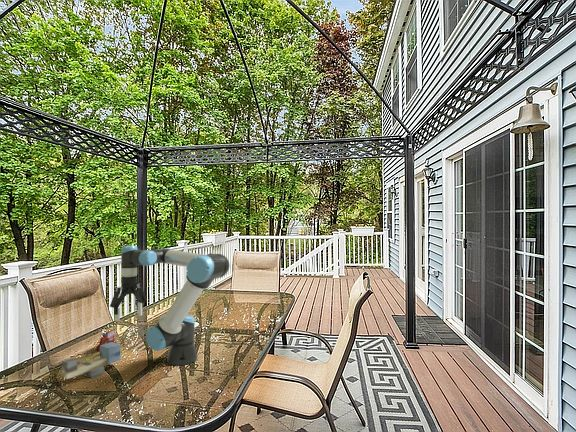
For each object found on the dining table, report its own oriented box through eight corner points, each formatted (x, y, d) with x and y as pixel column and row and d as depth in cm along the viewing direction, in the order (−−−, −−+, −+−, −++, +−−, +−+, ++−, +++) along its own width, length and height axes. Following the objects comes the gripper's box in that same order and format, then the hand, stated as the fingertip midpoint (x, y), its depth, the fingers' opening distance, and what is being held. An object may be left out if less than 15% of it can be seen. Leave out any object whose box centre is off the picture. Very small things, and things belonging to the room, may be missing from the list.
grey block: (120, 359, 173) (120, 344, 174) (108, 364, 168) (108, 348, 168) (111, 356, 177) (111, 342, 177) (99, 360, 172) (99, 345, 172)
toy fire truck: (93, 354, 191) (93, 335, 191) (108, 346, 203) (108, 328, 203) (104, 355, 190) (105, 335, 190) (119, 347, 202) (119, 329, 202)
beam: (123, 366, 175) (123, 345, 175) (68, 386, 153) (69, 363, 153) (115, 363, 179) (115, 343, 179) (60, 383, 157) (60, 360, 157)
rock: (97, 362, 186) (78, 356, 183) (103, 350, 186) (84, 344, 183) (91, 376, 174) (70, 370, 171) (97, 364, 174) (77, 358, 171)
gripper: (144, 272, 195) (144, 311, 194) (102, 278, 174) (101, 322, 173) (153, 273, 191) (153, 313, 190) (111, 279, 170) (110, 324, 170)
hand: (128, 317), depth 182 cm, fingers open, 12 cm apart
